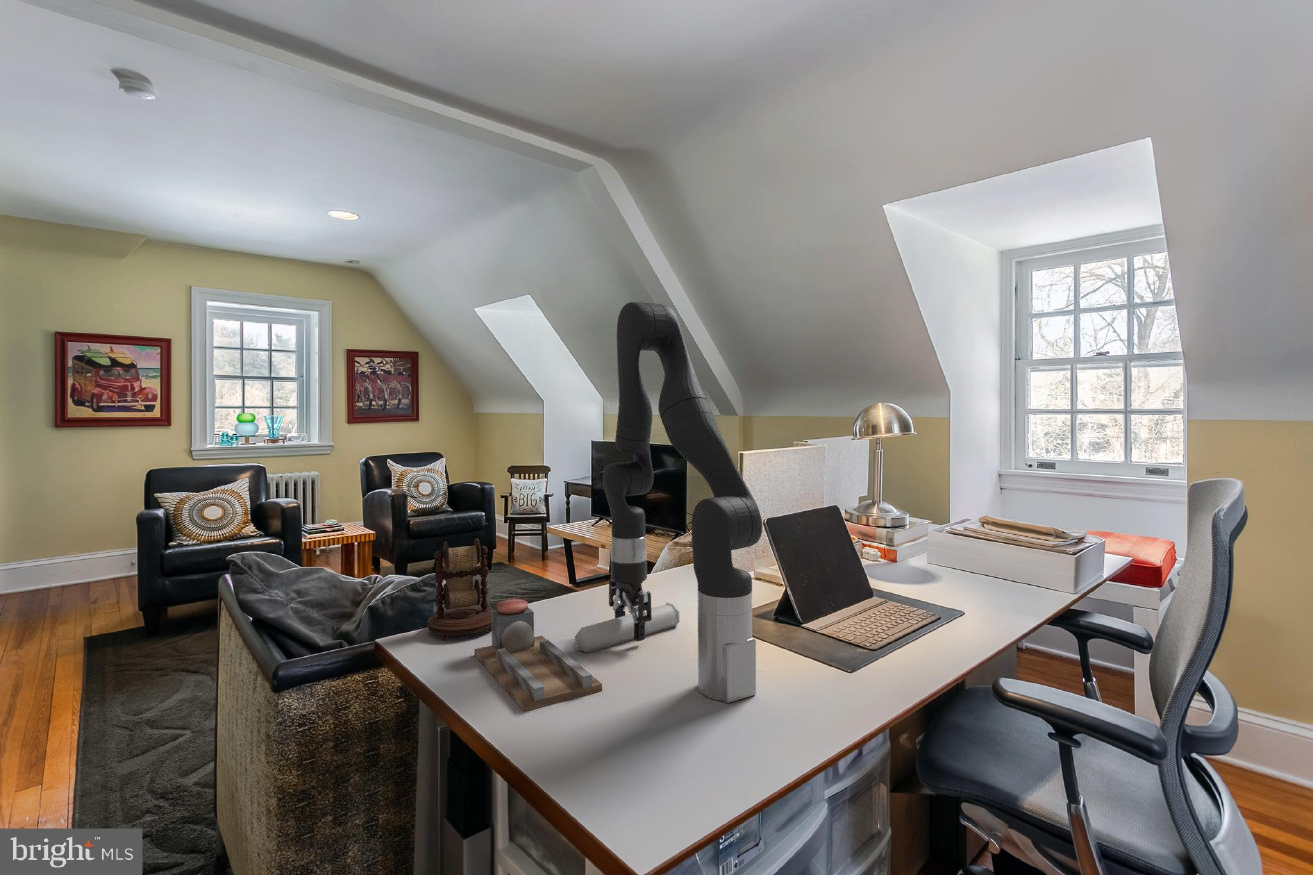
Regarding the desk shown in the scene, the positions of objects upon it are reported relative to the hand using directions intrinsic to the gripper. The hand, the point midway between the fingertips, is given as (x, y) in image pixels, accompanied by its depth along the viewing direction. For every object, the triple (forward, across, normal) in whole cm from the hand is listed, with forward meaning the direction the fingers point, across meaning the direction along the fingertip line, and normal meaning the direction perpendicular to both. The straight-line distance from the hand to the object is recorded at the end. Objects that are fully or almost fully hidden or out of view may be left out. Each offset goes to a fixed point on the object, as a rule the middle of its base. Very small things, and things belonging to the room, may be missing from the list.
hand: (629, 634), depth 134 cm
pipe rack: (+1, -5, +23) cm, 24 cm away
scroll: (+1, +25, +28) cm, 38 cm away
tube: (+2, +1, 0) cm, 2 cm away
